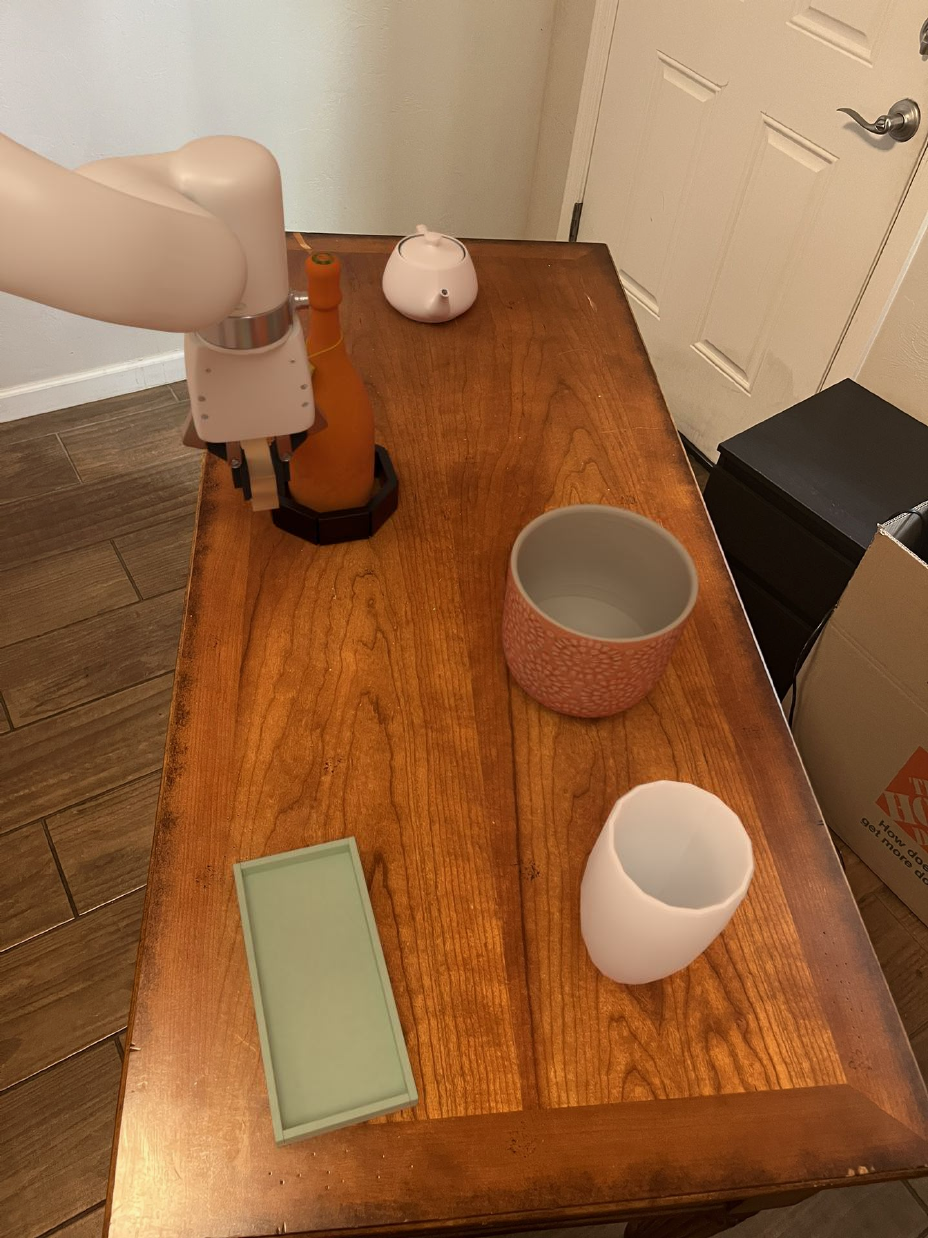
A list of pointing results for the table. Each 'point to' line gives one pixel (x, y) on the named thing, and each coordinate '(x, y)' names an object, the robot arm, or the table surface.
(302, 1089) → the tray
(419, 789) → the table surface
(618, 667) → the planter
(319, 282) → the wine bottle
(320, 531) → the bottle stand
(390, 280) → the teapot
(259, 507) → the brush
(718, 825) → the cup
